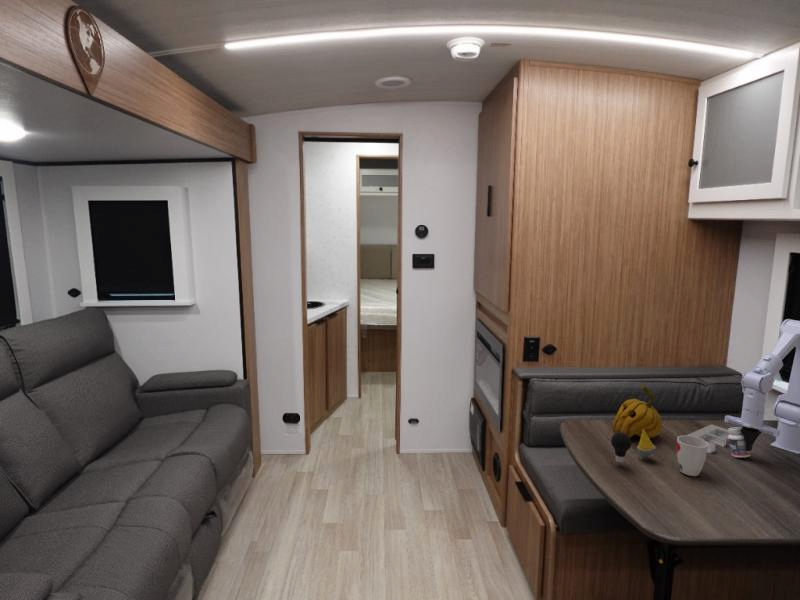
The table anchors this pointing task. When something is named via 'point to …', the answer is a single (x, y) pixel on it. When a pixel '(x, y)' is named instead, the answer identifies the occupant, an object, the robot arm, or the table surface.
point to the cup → (691, 454)
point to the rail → (712, 436)
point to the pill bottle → (737, 443)
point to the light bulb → (620, 445)
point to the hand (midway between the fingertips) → (748, 450)
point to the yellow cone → (645, 445)
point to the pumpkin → (638, 417)
